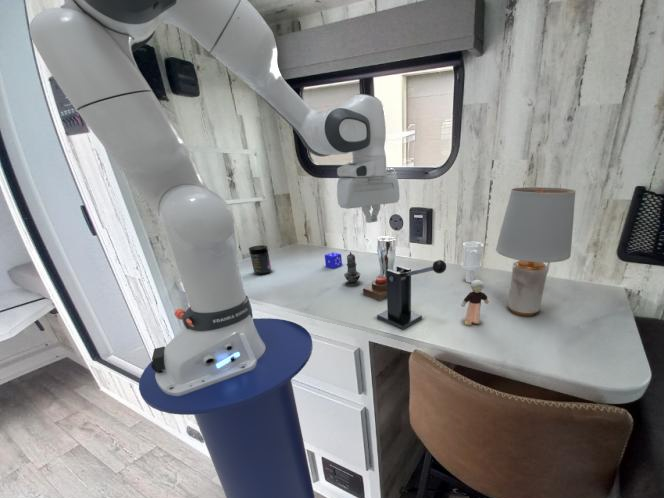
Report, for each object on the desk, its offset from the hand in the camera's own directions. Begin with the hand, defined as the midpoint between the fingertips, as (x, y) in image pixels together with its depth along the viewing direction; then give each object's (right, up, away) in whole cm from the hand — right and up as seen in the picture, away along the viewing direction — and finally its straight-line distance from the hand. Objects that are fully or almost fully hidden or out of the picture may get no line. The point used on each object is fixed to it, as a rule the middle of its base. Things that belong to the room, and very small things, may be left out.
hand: (371, 222), depth 87 cm
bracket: (+8, -27, +1) cm, 29 cm away
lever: (+13, -16, -10) cm, 23 cm away
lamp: (+44, -25, +5) cm, 51 cm away
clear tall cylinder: (+34, -15, +27) cm, 46 cm away
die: (-20, -8, +45) cm, 50 cm away
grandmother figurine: (+29, -28, -1) cm, 40 cm away
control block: (+2, -20, +18) cm, 27 cm away
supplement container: (-47, -11, +38) cm, 62 cm away
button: (+2, -16, +16) cm, 23 cm away
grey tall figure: (-9, -16, +26) cm, 32 cm away
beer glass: (+3, -13, +32) cm, 34 cm away
